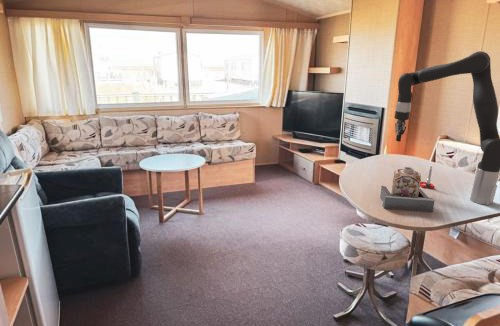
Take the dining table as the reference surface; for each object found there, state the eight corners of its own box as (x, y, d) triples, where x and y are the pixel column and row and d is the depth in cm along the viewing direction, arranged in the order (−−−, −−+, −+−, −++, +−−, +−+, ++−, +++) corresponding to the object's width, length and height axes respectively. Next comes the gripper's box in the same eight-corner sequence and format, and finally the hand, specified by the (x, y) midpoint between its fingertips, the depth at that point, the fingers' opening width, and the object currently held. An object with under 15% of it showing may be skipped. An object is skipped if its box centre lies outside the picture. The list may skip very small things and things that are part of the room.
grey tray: (377, 196, 174) (378, 184, 172) (421, 199, 171) (423, 187, 169) (384, 208, 160) (385, 196, 158) (432, 212, 157) (435, 199, 155)
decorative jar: (415, 199, 171) (421, 166, 166) (416, 208, 161) (422, 173, 155) (390, 196, 175) (395, 163, 170) (389, 204, 165) (395, 169, 160)
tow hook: (414, 182, 197) (420, 187, 188) (418, 161, 194) (423, 165, 185) (429, 184, 196) (435, 189, 187) (433, 162, 193) (440, 166, 184)
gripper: (392, 108, 189) (388, 138, 195) (399, 111, 177) (394, 143, 182) (406, 109, 188) (401, 139, 193) (413, 112, 176) (408, 144, 181)
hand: (398, 141), depth 188 cm, fingers closed
